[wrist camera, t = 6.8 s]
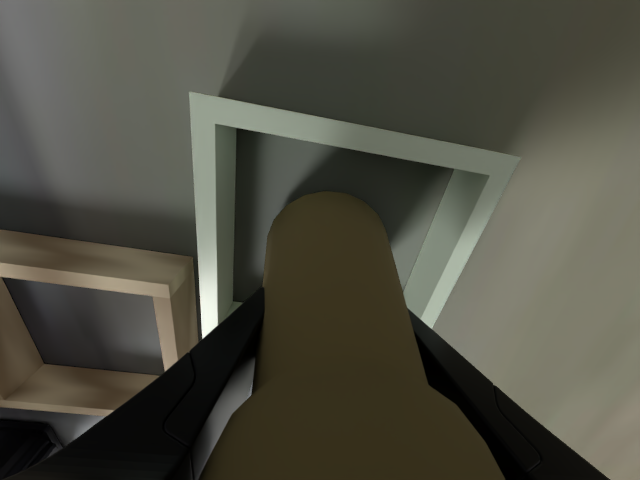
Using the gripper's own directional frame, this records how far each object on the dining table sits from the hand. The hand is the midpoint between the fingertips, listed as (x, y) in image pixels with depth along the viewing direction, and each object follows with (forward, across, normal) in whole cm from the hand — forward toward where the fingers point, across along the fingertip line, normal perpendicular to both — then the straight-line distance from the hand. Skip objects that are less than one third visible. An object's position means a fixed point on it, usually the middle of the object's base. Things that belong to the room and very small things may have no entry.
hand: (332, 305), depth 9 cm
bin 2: (+5, 0, 0) cm, 5 cm away
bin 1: (+5, +13, +8) cm, 16 cm away
